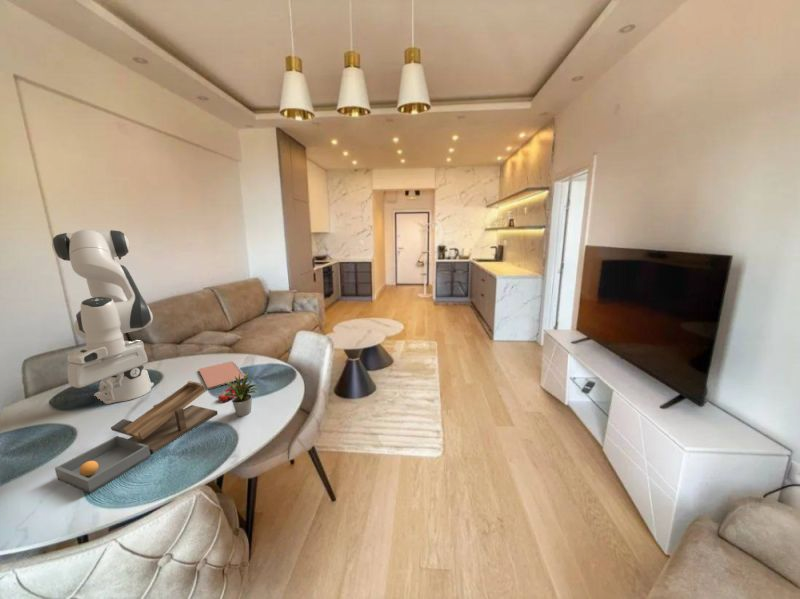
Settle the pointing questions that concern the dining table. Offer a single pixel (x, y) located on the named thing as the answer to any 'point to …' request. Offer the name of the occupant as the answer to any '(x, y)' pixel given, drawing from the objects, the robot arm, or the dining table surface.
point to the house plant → (242, 395)
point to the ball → (88, 468)
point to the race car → (223, 399)
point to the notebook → (221, 374)
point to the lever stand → (176, 426)
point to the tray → (103, 463)
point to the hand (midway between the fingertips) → (115, 387)
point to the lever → (160, 412)
